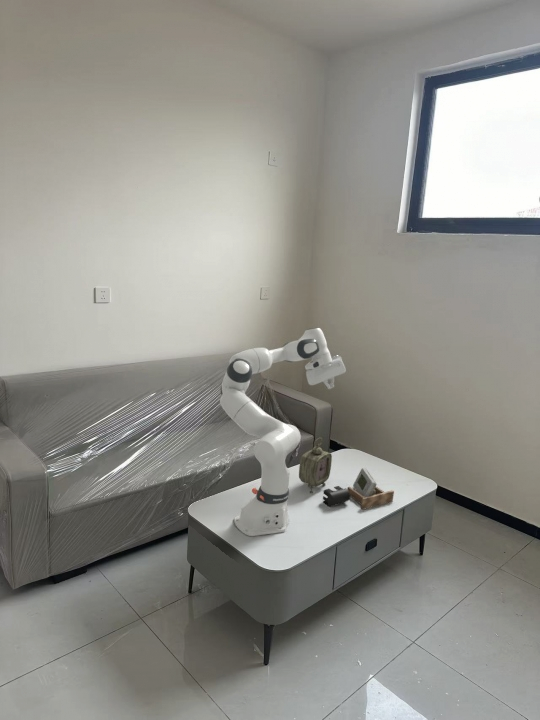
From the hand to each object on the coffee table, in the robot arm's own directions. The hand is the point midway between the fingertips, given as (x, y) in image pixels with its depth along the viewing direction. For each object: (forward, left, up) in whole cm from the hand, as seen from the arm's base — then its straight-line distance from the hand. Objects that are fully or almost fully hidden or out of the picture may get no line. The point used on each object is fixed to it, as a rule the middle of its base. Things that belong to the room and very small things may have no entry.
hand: (331, 388), depth 238 cm
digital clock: (+5, -25, -45) cm, 52 cm away
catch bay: (+5, -28, -45) cm, 53 cm away
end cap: (-12, -26, -45) cm, 53 cm away
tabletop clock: (-13, -10, -45) cm, 48 cm away
